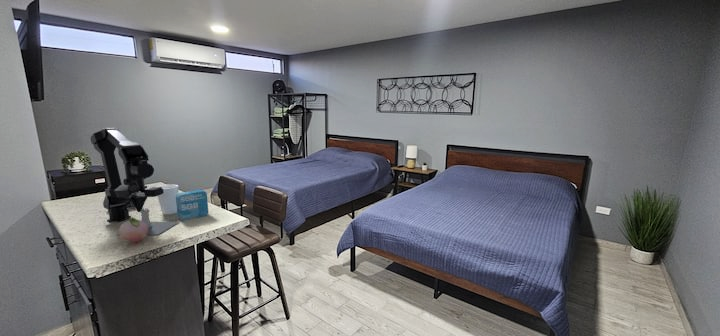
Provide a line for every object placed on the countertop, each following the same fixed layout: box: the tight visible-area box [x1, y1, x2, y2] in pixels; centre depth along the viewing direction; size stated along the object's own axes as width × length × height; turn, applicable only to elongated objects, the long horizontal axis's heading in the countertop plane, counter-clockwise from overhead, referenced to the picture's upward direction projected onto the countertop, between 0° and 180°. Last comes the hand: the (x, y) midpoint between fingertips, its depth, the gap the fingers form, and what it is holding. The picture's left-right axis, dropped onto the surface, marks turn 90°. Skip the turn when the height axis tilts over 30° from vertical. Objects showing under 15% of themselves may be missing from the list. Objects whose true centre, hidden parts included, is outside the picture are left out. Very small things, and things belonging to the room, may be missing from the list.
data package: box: [176, 189, 209, 221], centre depth 140 cm, size 12×4×12 cm, turn 134°
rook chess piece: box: [139, 207, 152, 228], centre depth 125 cm, size 4×4×8 cm
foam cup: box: [157, 183, 180, 216], centre depth 146 cm, size 10×9×13 cm
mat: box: [117, 221, 180, 236], centre depth 126 cm, size 16×14×1 cm
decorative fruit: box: [118, 216, 148, 243], centre depth 112 cm, size 9×8×10 cm
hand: (139, 211), depth 125 cm, fingers closed
